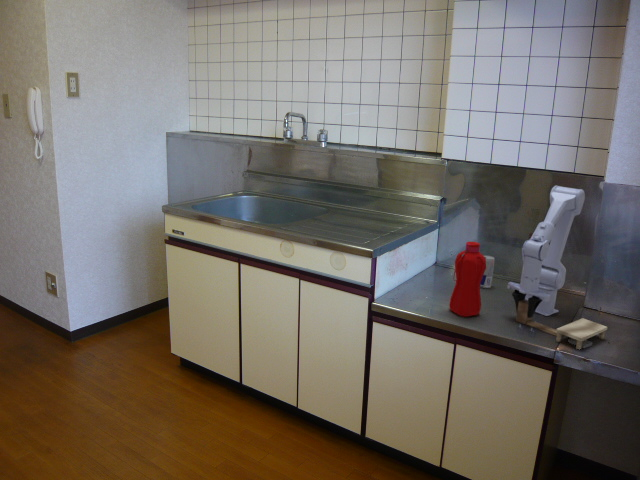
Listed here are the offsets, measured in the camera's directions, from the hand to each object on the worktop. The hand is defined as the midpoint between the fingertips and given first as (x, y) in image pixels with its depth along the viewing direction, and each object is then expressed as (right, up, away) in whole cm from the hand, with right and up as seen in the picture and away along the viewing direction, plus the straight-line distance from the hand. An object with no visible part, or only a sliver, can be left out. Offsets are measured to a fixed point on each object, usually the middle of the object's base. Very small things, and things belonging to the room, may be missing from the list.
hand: (524, 314), depth 183 cm
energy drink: (-4, +7, +33) cm, 34 cm away
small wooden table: (+13, -6, -11) cm, 18 cm away
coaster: (+12, -7, -14) cm, 20 cm away
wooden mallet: (+3, -4, -4) cm, 6 cm away
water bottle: (-19, 0, +6) cm, 20 cm away
